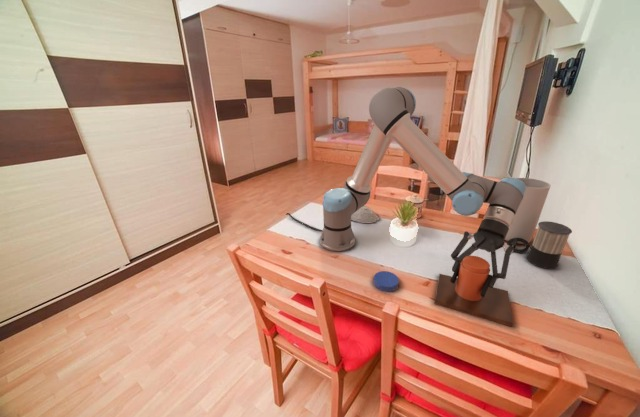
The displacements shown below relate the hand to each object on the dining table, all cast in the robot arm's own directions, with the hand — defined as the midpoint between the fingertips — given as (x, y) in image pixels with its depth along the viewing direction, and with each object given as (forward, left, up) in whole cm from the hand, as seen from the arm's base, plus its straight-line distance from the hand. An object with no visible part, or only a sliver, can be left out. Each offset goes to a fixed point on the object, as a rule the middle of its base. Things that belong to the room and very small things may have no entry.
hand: (466, 288), depth 79 cm
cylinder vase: (+18, +51, -5) cm, 54 cm away
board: (+2, +2, -5) cm, 6 cm away
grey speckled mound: (-52, +44, -5) cm, 68 cm away
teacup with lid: (-25, +57, -5) cm, 63 cm away
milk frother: (+22, +37, -5) cm, 44 cm away
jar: (+1, +3, -4) cm, 5 cm away
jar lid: (-24, -2, -4) cm, 24 cm away
